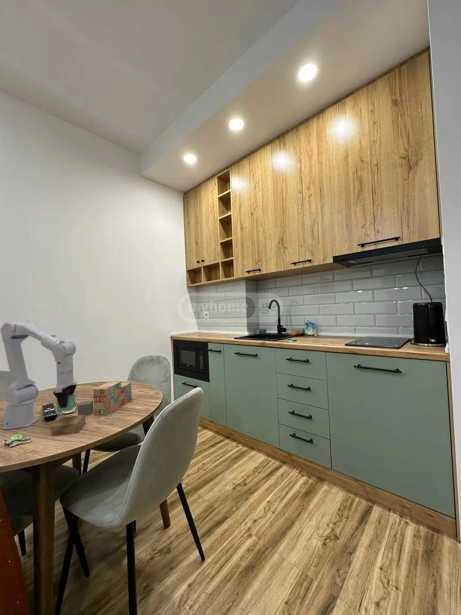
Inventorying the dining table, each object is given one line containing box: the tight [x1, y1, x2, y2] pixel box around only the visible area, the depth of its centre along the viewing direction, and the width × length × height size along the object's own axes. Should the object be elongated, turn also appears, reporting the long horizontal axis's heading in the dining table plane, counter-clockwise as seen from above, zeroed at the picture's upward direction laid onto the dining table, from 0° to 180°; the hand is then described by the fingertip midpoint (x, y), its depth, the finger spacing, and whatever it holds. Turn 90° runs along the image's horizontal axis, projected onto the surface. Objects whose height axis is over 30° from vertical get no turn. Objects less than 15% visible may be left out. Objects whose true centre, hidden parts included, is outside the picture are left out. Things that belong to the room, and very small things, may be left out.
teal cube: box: [56, 394, 76, 413], centre depth 105 cm, size 5×5×5 cm
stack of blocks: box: [92, 380, 133, 417], centre depth 125 cm, size 21×6×12 cm, turn 171°
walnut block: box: [50, 414, 86, 437], centre depth 101 cm, size 9×9×4 cm
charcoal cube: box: [77, 400, 94, 417], centre depth 118 cm, size 5×5×5 cm
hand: (66, 405), depth 104 cm, fingers closed on teal cube, 5 cm apart
